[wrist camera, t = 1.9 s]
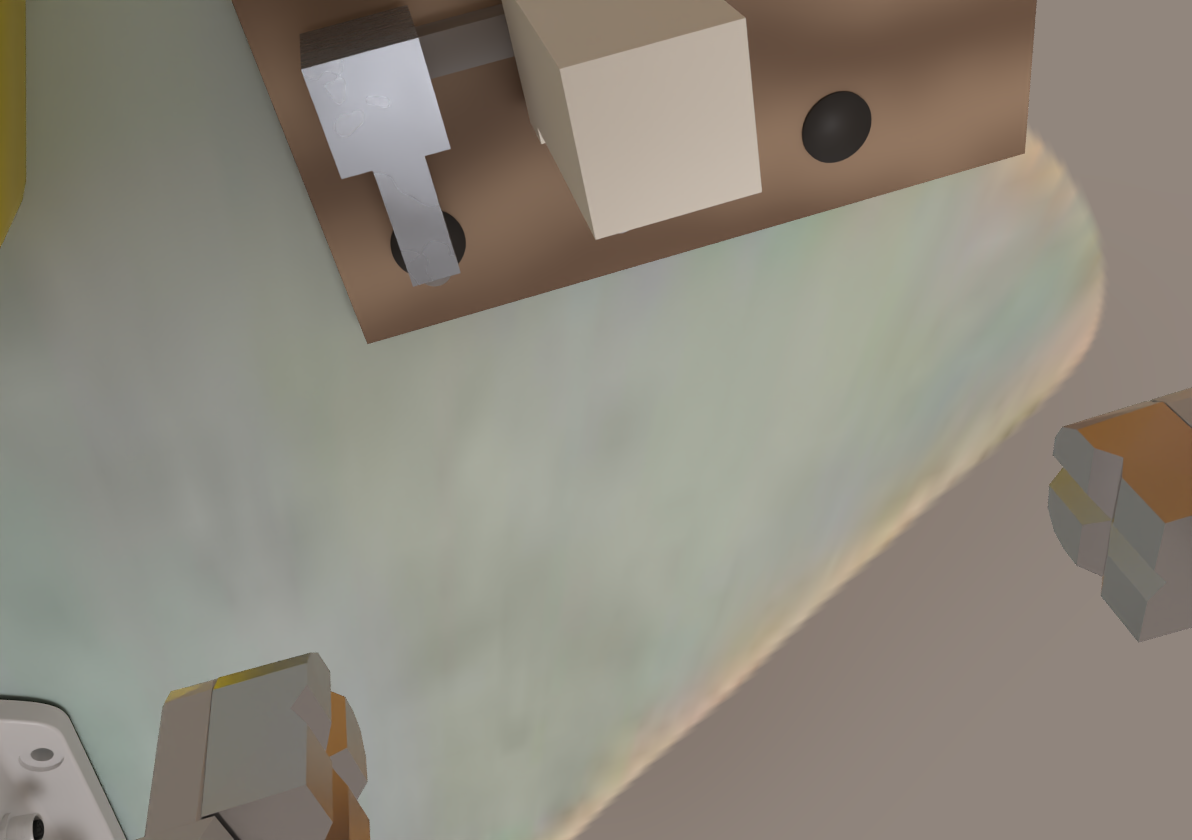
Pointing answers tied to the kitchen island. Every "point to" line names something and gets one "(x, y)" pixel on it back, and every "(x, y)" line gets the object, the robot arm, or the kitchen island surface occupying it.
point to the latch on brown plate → (571, 254)
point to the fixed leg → (384, 126)
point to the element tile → (12, 110)
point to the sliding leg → (640, 104)
